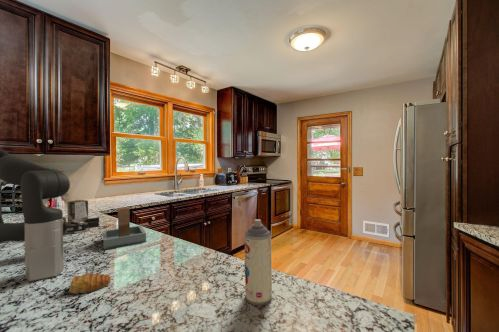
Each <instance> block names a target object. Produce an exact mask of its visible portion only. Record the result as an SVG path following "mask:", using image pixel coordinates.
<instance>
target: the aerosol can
mask: <svg viewBox="0 0 499 332" xmlns="http://www.w3.org/2000/svg"><path fill="white" fill-rule="evenodd" d="M253 222H254V223H253V224H252V225H251V226H249V228H247V230H245V232H244V233H245V234H244V278H245V279H244V285H245V286H244V287H245V288H244V289H245V294H244V295H245V301H246V302H248V304H250V305H253V306H260V307H261V306H265V305H267V304H270V302H271V301H272V299H273V298H272V297H273V291H272V289H273V284H272V283H273V282H272V279H273V278H272V275H273V274H272V271H273V270H272V234H271V230H269V229H268V228H267V227H266V226H265V225H264V224H263V223H262V220H261V219H260V218H259V219H257V218H256V219H254V220H253Z"/></svg>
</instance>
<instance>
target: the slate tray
mask: <svg viewBox="0 0 499 332" xmlns="http://www.w3.org/2000/svg"><path fill="white" fill-rule="evenodd" d="M102 233H103V234H102V235H103V236H102V237H103V242H102V243H103V250H104V251H105V250H110V249H116V248H121V247H127V246H133V245H138V244H144V243H147V232H146V231H145V230H144V228H143V227H142V225H135V226H130V235H128V236H122V237H118V228H114V229H109V230H103V231H102Z"/></svg>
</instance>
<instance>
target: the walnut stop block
mask: <svg viewBox="0 0 499 332" xmlns="http://www.w3.org/2000/svg"><path fill="white" fill-rule="evenodd" d="M130 212H131V211H130V206H123V207H118V208H117V229H118V237H122V236H128V235H130V227H131V222H130V221H131V219H130V217H131V216H130Z"/></svg>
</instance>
